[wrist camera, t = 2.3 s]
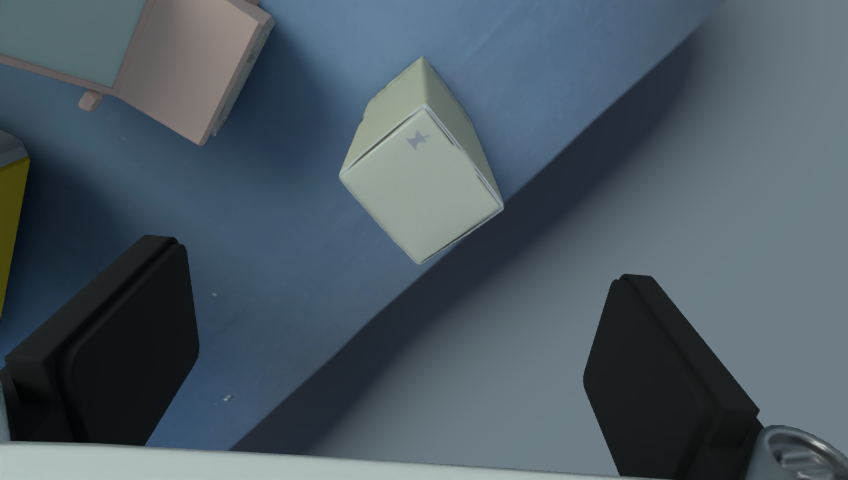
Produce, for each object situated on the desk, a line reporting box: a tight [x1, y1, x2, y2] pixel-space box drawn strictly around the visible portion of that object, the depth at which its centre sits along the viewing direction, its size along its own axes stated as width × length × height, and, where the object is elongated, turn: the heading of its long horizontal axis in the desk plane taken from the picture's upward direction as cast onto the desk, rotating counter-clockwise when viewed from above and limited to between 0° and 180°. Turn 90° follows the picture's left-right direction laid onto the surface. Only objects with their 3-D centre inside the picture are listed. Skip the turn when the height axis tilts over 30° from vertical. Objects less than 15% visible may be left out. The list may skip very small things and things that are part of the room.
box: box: [339, 57, 504, 265], centre depth 24 cm, size 5×4×13 cm
